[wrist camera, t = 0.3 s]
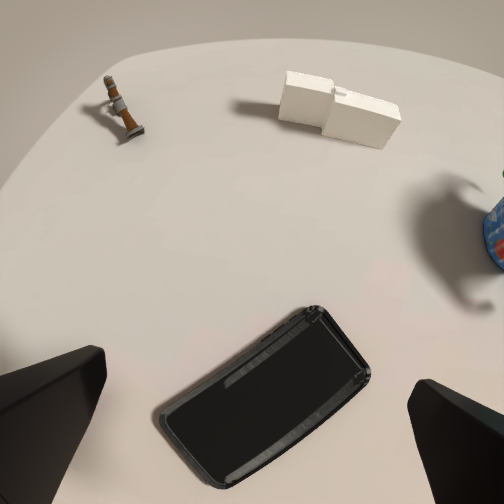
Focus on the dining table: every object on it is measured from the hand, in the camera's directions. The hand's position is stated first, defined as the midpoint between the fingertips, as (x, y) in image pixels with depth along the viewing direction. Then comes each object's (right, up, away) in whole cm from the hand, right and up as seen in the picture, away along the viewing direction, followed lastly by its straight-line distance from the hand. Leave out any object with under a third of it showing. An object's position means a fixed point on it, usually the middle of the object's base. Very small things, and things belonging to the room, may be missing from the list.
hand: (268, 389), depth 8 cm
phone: (+1, -7, +14) cm, 16 cm away
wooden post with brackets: (-14, +17, +21) cm, 31 cm away
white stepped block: (+8, +17, +23) cm, 30 cm away
